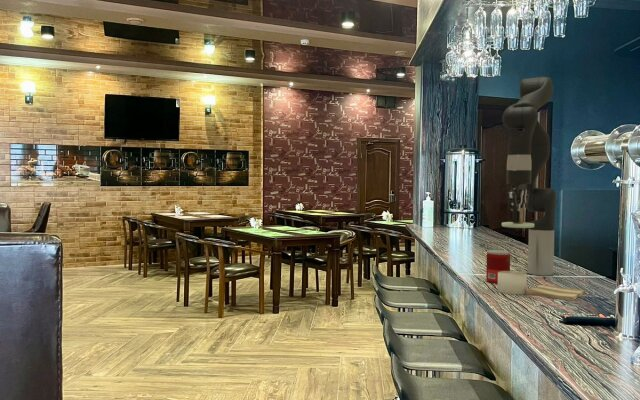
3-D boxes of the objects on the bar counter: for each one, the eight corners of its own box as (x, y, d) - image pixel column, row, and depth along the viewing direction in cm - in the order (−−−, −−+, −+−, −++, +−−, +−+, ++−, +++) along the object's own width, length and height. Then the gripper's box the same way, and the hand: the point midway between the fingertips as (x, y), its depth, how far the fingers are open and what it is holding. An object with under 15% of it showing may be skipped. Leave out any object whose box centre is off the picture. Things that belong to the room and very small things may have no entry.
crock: (503, 287, 187) (504, 270, 187) (530, 291, 181) (531, 273, 181) (493, 291, 180) (493, 273, 180) (520, 295, 174) (521, 276, 174)
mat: (540, 287, 187) (540, 284, 187) (585, 293, 178) (585, 290, 178) (526, 294, 177) (526, 291, 176) (572, 300, 168) (572, 297, 168)
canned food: (511, 284, 192) (511, 253, 192) (487, 283, 194) (487, 252, 193) (508, 280, 200) (508, 250, 199) (485, 279, 201) (485, 249, 201)
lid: (508, 224, 187) (509, 206, 186) (538, 226, 180) (539, 207, 180) (496, 226, 179) (497, 208, 179) (527, 228, 172) (528, 209, 172)
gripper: (515, 169, 186) (514, 220, 187) (499, 169, 176) (498, 223, 177) (538, 169, 181) (537, 221, 182) (522, 168, 171) (521, 224, 172)
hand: (518, 221), depth 179 cm, fingers closed on lid, 3 cm apart
